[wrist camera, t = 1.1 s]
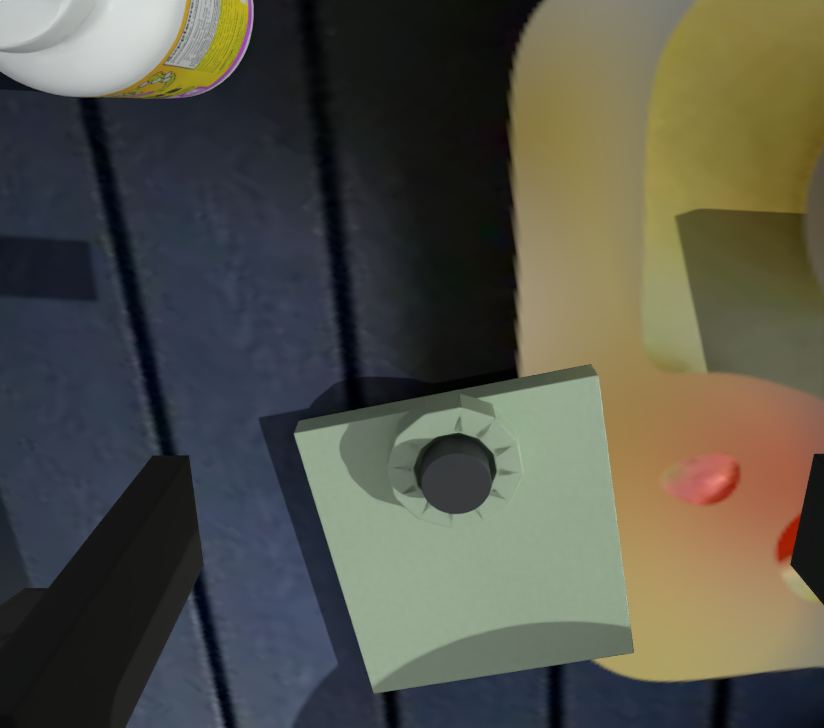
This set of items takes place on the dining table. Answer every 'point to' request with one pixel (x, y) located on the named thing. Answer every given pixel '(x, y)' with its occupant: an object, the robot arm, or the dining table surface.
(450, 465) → the button
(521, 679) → the dining table surface
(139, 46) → the supplement bottle
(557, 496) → the scale
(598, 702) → the dining table surface
